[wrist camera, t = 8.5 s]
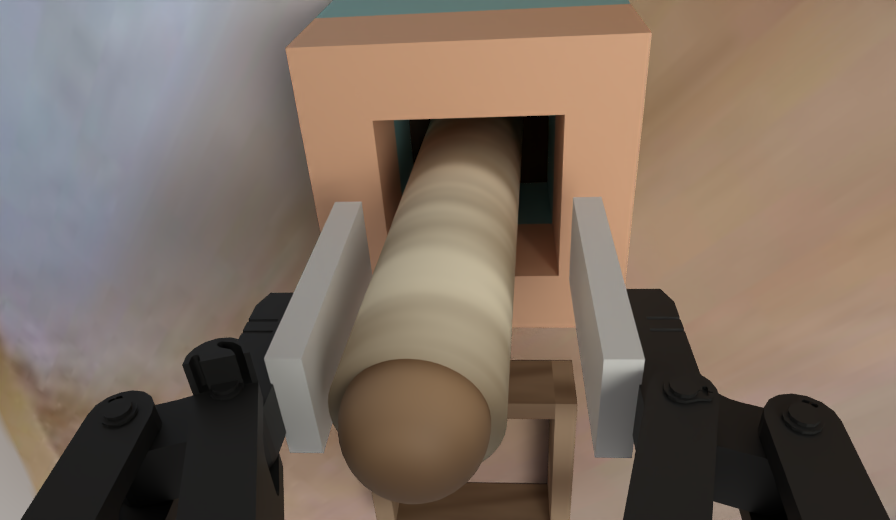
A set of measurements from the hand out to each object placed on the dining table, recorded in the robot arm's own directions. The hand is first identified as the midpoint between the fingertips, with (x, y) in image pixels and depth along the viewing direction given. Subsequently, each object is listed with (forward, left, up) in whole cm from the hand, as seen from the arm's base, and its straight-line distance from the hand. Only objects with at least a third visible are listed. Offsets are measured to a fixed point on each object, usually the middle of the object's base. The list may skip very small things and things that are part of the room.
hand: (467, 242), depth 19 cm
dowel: (0, 0, -9) cm, 9 cm away
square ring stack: (0, 0, -9) cm, 9 cm away
